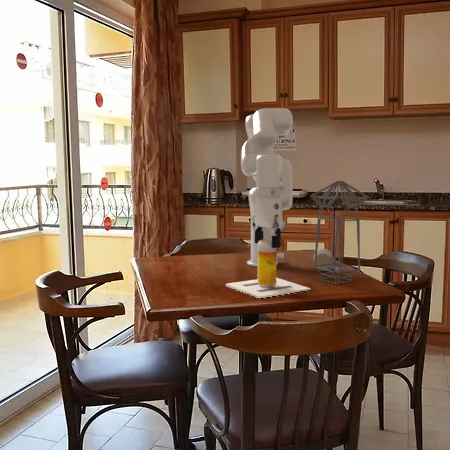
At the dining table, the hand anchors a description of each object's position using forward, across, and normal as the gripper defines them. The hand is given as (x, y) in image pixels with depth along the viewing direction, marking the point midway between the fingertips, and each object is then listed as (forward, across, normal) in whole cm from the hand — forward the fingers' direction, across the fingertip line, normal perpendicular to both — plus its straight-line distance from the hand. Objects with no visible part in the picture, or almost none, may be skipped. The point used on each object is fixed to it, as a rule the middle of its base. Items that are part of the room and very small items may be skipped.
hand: (267, 245), depth 172 cm
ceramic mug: (+15, +12, -36) cm, 41 cm away
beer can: (+14, 0, 0) cm, 14 cm away
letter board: (+14, -1, 0) cm, 14 cm away
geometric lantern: (+15, -4, -28) cm, 31 cm away
